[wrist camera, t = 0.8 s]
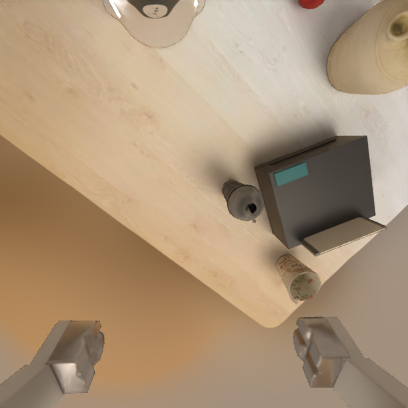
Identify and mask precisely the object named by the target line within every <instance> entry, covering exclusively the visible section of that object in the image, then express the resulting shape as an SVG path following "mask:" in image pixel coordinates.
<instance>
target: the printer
mask: <svg viewBox="0 0 408 408" xmlns="http://www.w3.org/2000/svg"><path fill="white" fill-rule="evenodd" d="M254 170H255V173H256V177H257V180H258V184H259V187H260V191H261V194H262V197H263V201H264V205H265V208H266V212H267V215H268V219H269V222H270V226H271V230H272V233H273V234H274V235H275V236H276V237H277V238H278V239H279V240H280V241H281V242H282V243H283V244H284V245H285V246H286V247H287V248H288V249H290V248H293V247H295V246H298V245H301V244H302V245H303V246H304V247H305V248H306V249H308V250H309V251H310V252H311V253H312V254H313V255H315V256H318V255H320V254H323V253H325V252H328V251H331V250H333V249H336V248H338V247H341V246H343V245H346V244H349V243H351V242H354V241H356V240H359V239H361V238H364V237H367V236H369V235H372V234H374V233H377V232H379V231H382V230H385V229H387V227H386V226H385V225H382V224H380V223H378V222H375V221H373V220H371V219H368V218H370V217H373V216H375V206H374V196H373V187H372V178H371V169H370V159H369V150H368V141H367V136H335V137H333V138H330V139H328V140H325V141H322V142H320V143H317V144H315V145H312V146H309V147H307V148H304V149H301V150H299V151H296V152H294V153H291V154H288V155H286V156H283V157H281V158H278V159H275V160H273V161H270V162H268V163H265V164H262V165H260V166H257V167H254Z"/></svg>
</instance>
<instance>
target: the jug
mask: <svg viewBox="0 0 408 408" xmlns="http://www.w3.org/2000/svg"><path fill="white" fill-rule="evenodd" d="M327 73H328V77H329V80H330V82H331V83H332V85H333V86H334V87H335V88H336V89H338V90H339V91H341V92H346V93H350V94H385V93H389V92H392V91H395V90H398V89H401V88H403V87H405V86H407V85H408V0H383V1H381V2H380V3H378V4H376V5H375V6H374V7H372V8H371V9H370V10H369V11H367V12H366V13H365V14H364V15H363V16H362V17H361V18H360V19H359V20H357V21H356V22H355V23H354V24H353V25H352V26H351V27H350V28H349V29H348V30H347V31H346V32H345V33H344V34H343V35H342V36H341V37H340V38H339V39H338V40H337V41H336V42H335V44H334V45H333V47H332V49H331V51H330V53H329V57H328V61H327Z"/></svg>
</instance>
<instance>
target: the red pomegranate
mask: <svg viewBox="0 0 408 408" xmlns="http://www.w3.org/2000/svg"><path fill="white" fill-rule="evenodd" d="M324 1H325V0H298V2H299V4H300V5H301V6H302V7H303V8H306V9H314V8H316V7H318V6H319V5H321V4H322V3H323V2H324Z"/></svg>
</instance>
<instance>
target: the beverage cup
mask: <svg viewBox="0 0 408 408" xmlns="http://www.w3.org/2000/svg"><path fill="white" fill-rule="evenodd" d="M222 192H223V195H224V197H225V199H226V202H227V207H228V210H229V212H230V214H231V215H232V216H233V217H235V218H237V219H240V220H243V221H249V220H252V221H253V223H255V222H256V220H255V218H257V217H258V216H259V215H260V213H261V212H262V210H263V206H264V201H263V197H262V195H261V193H260V191H259V190H258V189H257V188H256V187H254V186H252V185H244V184H242V183H239V182H237V181H232V180H231V181H228V182H226V183H225V184H224V186H223V188H222Z"/></svg>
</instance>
